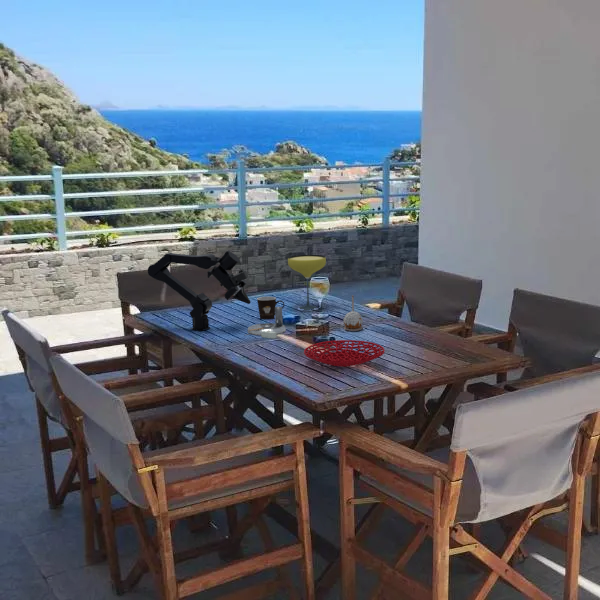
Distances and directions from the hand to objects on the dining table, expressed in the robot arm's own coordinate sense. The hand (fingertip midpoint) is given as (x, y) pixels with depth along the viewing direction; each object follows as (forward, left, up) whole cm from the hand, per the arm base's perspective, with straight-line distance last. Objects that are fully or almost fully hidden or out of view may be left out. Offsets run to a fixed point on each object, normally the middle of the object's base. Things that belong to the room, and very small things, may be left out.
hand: (249, 303), depth 351 cm
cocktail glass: (-1, +48, -12) cm, 50 cm away
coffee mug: (-4, +20, -12) cm, 24 cm away
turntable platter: (+10, -2, -11) cm, 15 cm away
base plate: (+10, -2, -12) cm, 15 cm away
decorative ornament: (+39, +20, -12) cm, 46 cm away
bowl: (+61, -27, -12) cm, 68 cm away
